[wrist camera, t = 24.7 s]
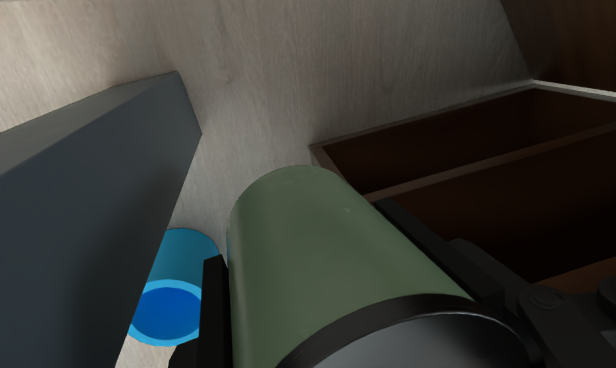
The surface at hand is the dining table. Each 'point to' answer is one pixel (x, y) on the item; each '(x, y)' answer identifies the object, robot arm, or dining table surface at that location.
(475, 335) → the tin
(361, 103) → the dining table surface
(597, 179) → the cupboard
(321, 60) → the dining table surface
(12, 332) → the stand
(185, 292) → the mug
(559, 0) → the door
